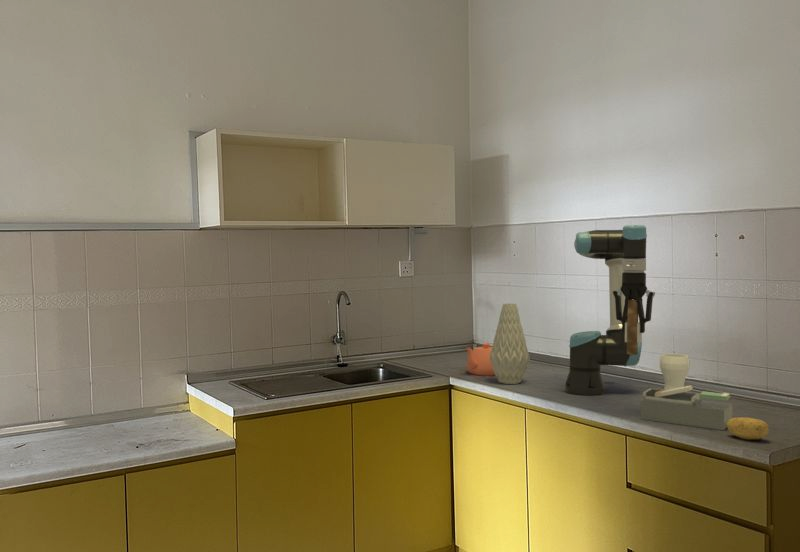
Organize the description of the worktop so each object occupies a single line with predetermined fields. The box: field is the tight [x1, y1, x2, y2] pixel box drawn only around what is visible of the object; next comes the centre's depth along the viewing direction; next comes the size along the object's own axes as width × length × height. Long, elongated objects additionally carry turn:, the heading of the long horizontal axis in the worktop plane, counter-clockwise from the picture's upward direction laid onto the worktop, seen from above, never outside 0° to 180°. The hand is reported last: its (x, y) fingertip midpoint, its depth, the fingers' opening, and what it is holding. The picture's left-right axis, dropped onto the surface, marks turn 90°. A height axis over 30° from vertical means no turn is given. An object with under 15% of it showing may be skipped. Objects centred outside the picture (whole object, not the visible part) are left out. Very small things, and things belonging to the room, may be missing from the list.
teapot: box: [465, 342, 495, 377], centre depth 318 cm, size 25×17×13 cm
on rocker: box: [699, 390, 731, 402], centre depth 224 cm, size 8×5×1 cm, turn 55°
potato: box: [726, 416, 770, 441], centre depth 206 cm, size 7×11×6 cm, turn 41°
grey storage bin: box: [640, 387, 733, 431], centre depth 229 cm, size 25×13×8 cm, turn 55°
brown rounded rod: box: [627, 299, 639, 355], centre depth 235 cm, size 3×3×18 cm
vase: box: [489, 303, 531, 385], centre depth 295 cm, size 17×17×33 cm
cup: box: [659, 353, 691, 390], centre depth 270 cm, size 11×11×15 cm
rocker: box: [654, 384, 694, 397], centre depth 231 cm, size 11×4×1 cm, turn 55°
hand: (633, 342), depth 236 cm, fingers closed on brown rounded rod, 3 cm apart
